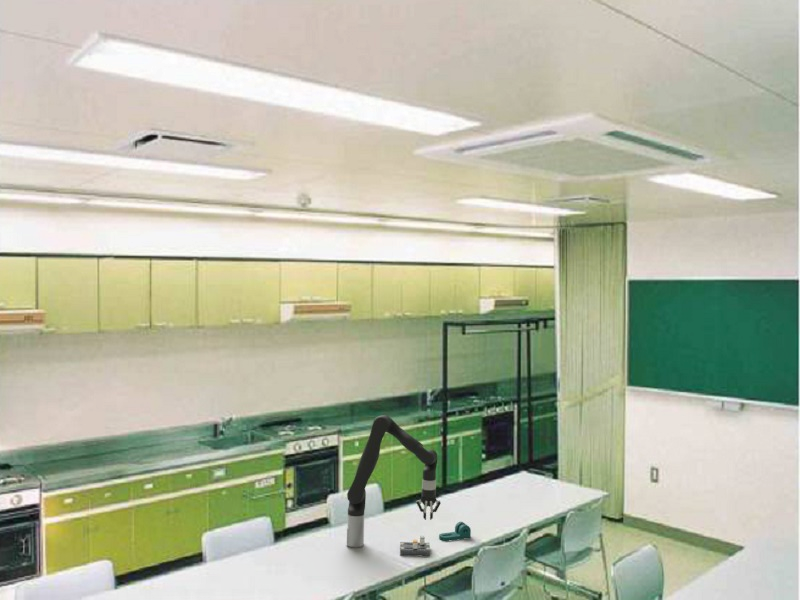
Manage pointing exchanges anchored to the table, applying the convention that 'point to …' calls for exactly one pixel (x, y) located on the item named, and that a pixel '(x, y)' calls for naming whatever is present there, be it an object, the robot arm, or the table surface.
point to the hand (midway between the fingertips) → (428, 519)
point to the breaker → (422, 540)
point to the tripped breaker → (415, 544)
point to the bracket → (457, 533)
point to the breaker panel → (407, 549)
